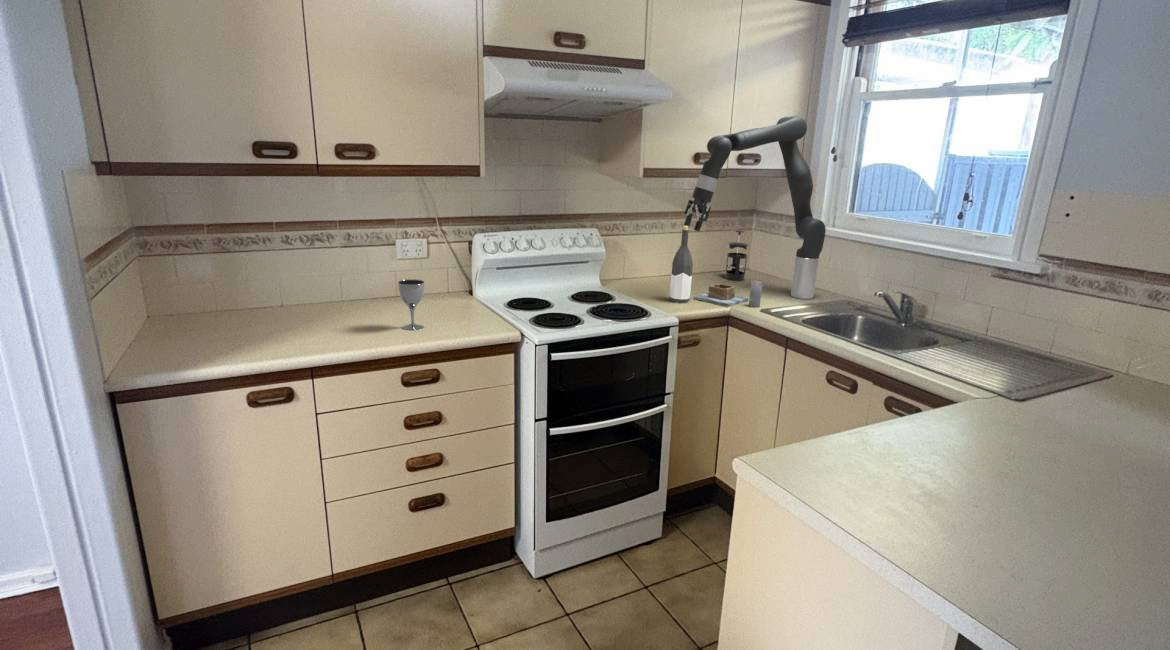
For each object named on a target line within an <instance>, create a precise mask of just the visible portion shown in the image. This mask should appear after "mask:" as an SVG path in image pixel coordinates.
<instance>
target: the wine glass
mask: <svg viewBox="0 0 1170 650" xmlns="http://www.w3.org/2000/svg"><path fill="white" fill-rule="evenodd" d="M397 284H398V285H397V286H398V294H399V298H400V300H401V301H402V302H403V304H405V305H406V306H407V308H408V309H409V312H410V318H411V323H408V324H405V325H404V324H403V325H402V326H401V329H402V330H406V331H420V330H423V329H424V328H425V326H424V325H423V324H419V323H415V310H416V308H417V307H418V305H419V304H420V303H421V301H422V300H423V297H424V294H425V293H424V292H425V281H424V280H422V279H418V278H417V279H415V278H411V279H401V280H398V283H397Z"/></svg>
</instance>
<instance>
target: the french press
mask: <svg viewBox="0 0 1170 650" xmlns="http://www.w3.org/2000/svg"><path fill="white" fill-rule="evenodd" d="M734 232H735V233H738V241H736V242H733V241H732V242H728V246H729V247H728V249H730V250H733V249H735V248H737V250H736V252H728V253H727V254H726V266H725V273H724V274H725V276H724V280H726V279H727V281H730V280H731V281H733V282H744V281H745V280H746V279H745V277H746V265H747V258H748V255H747V253H741V252H739V248H743V250H745V251H746V250H747V249H748V247H749V244H748V243H745V242H740V237H741V234H742V233H745V231H744V230H735V231H734ZM729 258H732V259H731V260H732V261H731V263H729V264H728V262H729ZM743 259H745V261H744V265H743V264H741V260H743ZM728 269H731V270H728ZM740 269H741V270H744V271H741V270H740ZM743 280H744V281H743Z"/></svg>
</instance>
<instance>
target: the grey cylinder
mask: <svg viewBox="0 0 1170 650" xmlns="http://www.w3.org/2000/svg"><path fill="white" fill-rule="evenodd" d="M763 285H764V282H763V281H761V280H759V279H758V280H755V279H754V280H751V281H750V290H749V297H748V298H749V299H748V307H750V306H751V307H750V308H754V307H758V308H760V307H761V302H762V301H761V299H762V293H763Z"/></svg>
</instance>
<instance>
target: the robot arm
mask: <svg viewBox="0 0 1170 650" xmlns="http://www.w3.org/2000/svg"><path fill="white" fill-rule="evenodd" d="M807 130H808V124H807V122H806V120H805V119H804V118H803V117H801V116H796V115H795V116H784V117H781V118H779V119H778V121H777V122H776V124H773V125H770V126H763V127H758V128H750V129H745V130H741V131H737V132H734V133H730V134H729V133H728V134H727V133H726V134H722V135H721V134H720V135H716V136H713V137H711V138H710V139H708V142H707V144H706V150H707V151H708V153H709V154H711V156H710V158H709V159H708V160H706V161H704V163H703V166H702V168H701V171H700V174H699V177H698V178H697V181H696V183H695V186H694V190H693V193H692V196H691V197H692V198H693V200H692V199H688V202H687V205H686V207H685V210H684V212H683V213H684V215H685V217H686V218H685V220H684V223H683V226H689V227H690V226H691V223H692V220H693V218H694V216H695V215H696V216H697V217H696V218H697V220H696V223H695V226H694V228H693V230H694V231H696V232H700V231H701V228H702V225H703V223H704V222H707V221H708V218H709V215H710V213H711V209H712V206H710V205H708V203H709V204H710V203H712V199H713V197H714V194H715V191H716V188H717V185H718V179H719V177H720V173H721V171H722V169H723V167H724V165H725V163H726V162H727V160H728V159H729V157H730V154H731V152H739V151H745V150H749V149H752V148H753V149H754V148H757V147H760V146H764V145H768V144H771V143H776V142H777V143H778V145H779V146H778V147H779V148H780V151H781V155H782V160H783V164H784V168H785V172H786V179H787V184H788V188H789V192H790V198H791V202H792V203H791V204H792V208H793V214H794V225H795V232H796V234H797V236H798V237H799V238H800V239H802V240H803V242H802V245H801V247H799V248H797V250H796V252H795V253H796V254H795V259H794V269H793V274H792V275H793V276H792V282H791V283H792V284H791V290H790V296H791V297H793V298H795V299H801V300H802V299H803V300H812V299H814V294H815V287H816V282H817V281H816V280H817V274H818V266H819V260H820V255H821V253H822V251H823V248H824V243H825V238H826V230H827V229H826V225H825V223H824V222H823V221H822V220H820V219H817V218H814V216H813V213H812V209H811V200H812V195H813V191H814V182H813V177H812V172H811V169H810V166H809V164H808V162H806V160H805V158H804V157H803V155H802V153H801V151H800V148H799V146H798V145H799V144H798V140H800V139H802V138H803V137H804V136H805V135H806V134H807Z"/></svg>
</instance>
